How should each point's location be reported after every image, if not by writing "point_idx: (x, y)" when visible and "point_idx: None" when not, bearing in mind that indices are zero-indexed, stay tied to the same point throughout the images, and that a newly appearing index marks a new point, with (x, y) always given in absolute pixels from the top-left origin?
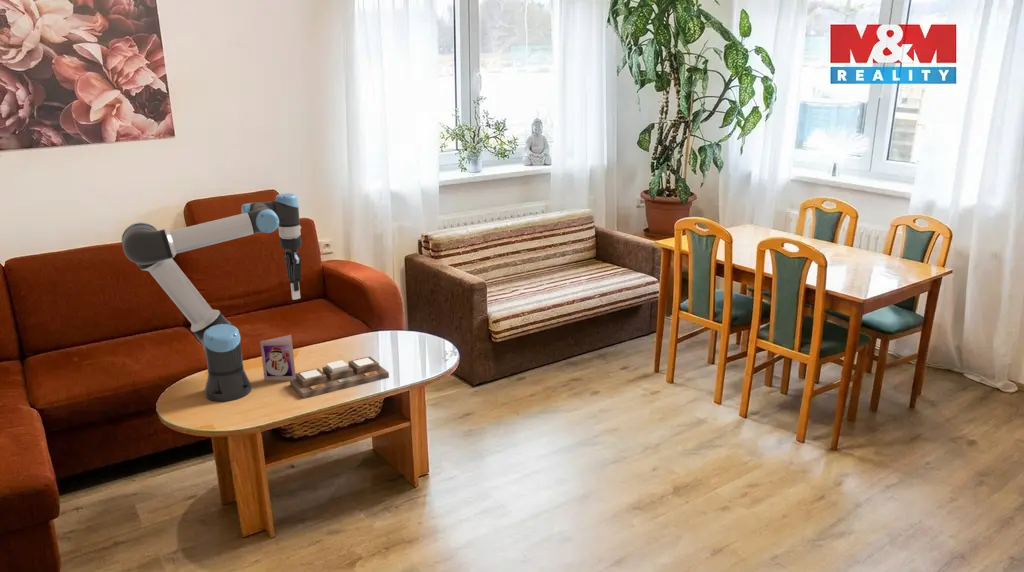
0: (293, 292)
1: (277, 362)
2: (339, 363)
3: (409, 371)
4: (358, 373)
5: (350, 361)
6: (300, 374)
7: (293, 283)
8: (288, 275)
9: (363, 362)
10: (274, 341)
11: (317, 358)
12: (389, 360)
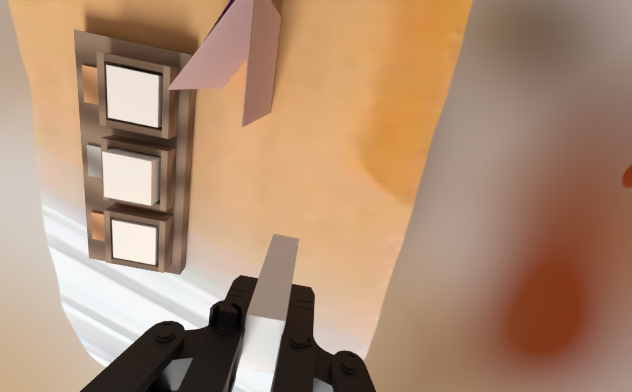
0: (263, 265)
1: (237, 44)
2: (130, 187)
3: (105, 295)
4: (113, 206)
5: (159, 224)
6: (152, 74)
7: (246, 321)
8: (341, 382)
9: (129, 240)
10: (213, 30)
11: (317, 206)
12: (188, 303)
